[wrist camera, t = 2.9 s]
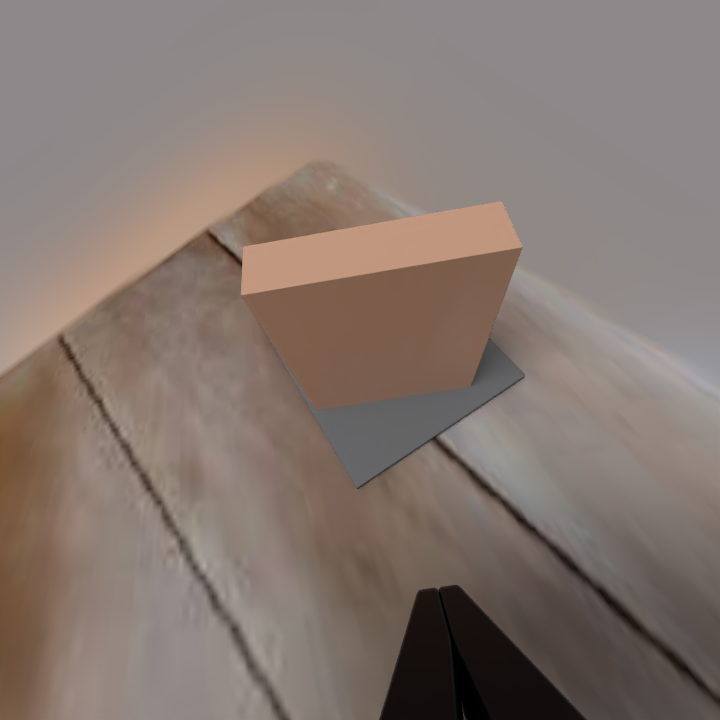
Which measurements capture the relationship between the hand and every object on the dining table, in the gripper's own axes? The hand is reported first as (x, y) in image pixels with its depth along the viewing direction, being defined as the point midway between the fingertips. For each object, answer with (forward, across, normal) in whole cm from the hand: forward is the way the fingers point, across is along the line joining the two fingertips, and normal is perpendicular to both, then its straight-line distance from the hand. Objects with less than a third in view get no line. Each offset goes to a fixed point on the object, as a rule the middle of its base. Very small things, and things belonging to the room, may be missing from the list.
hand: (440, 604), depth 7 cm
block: (+17, 0, -1) cm, 17 cm away
